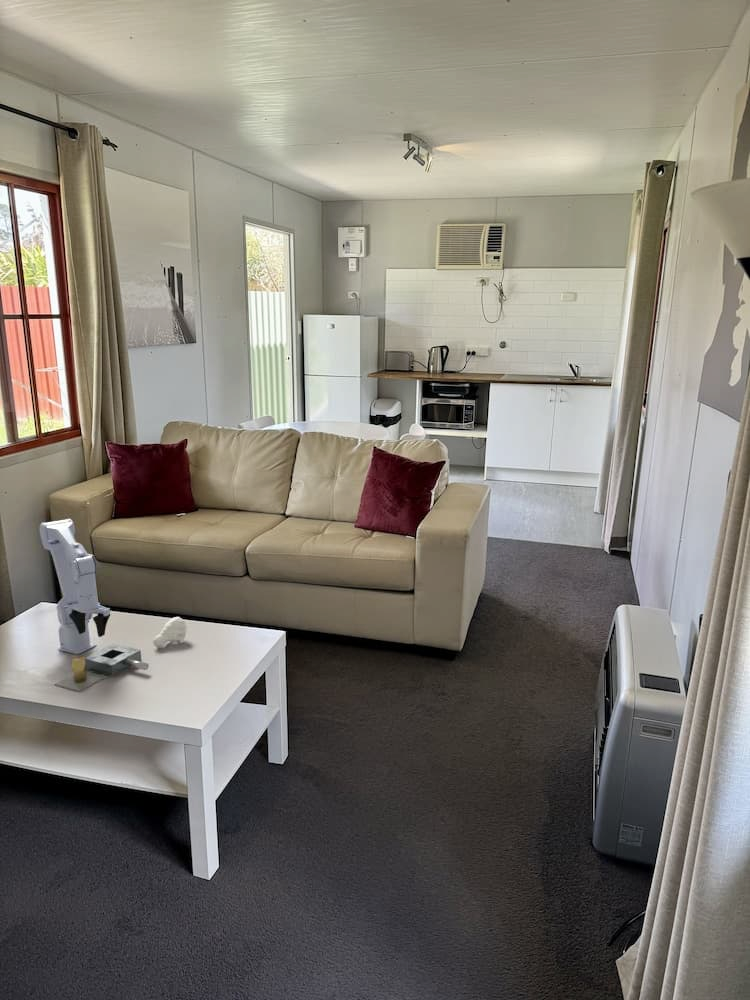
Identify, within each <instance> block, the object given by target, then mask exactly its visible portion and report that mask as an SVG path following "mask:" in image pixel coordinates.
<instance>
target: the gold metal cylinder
mask: <svg viewBox="0 0 750 1000" xmlns="http://www.w3.org/2000/svg"><path fill="white" fill-rule="evenodd" d="M85 657H86V656H83V655H80V656H75V657H73V658H71V666H72V675H73V676H74V682H75V683H81V682H84V681H86V680H87V675H86V666H85Z"/></svg>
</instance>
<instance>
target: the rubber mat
mask: <svg viewBox="0 0 750 1000" xmlns="http://www.w3.org/2000/svg"><path fill="white" fill-rule="evenodd" d="M86 675H87V680H86V681H84V682H81V683H75V682H74V676H73V674H72V675H70V676H68V677H66V678H65V679H62V680H60V681H59V682H56V683H54V686H56V687H59V686H60V687H59V688H64V689H67V690H70V689H71V690H70V691H74V690H75V692H78V693H80V692H82V691H84V690H85V689H88V688H90V687H92V686H93V685H94V684H96V683H98V682H100V681H103V680H104V679H106V678H107V677H106V675H102V674H98V673H94V672H90V671H86Z"/></svg>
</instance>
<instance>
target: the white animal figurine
mask: <svg viewBox="0 0 750 1000" xmlns="http://www.w3.org/2000/svg"><path fill="white" fill-rule="evenodd" d="M187 628H188V627H187V625H186V621H185V620H184V619H183V618H181V617H180V616H176V617H175V616H174V617H172V618H170V619H169V620H168V621H167V622H166V623H165V624H164V626H163V628H162V629H161V631H160V633H159V634H157V635H156V636H155V637H154V638H153V640H152V643H153V645H154V647H156V649H158V650H160V649H163V648H164V646H165V644H167V643H168V642H173V641H174V642H175V641H176V642H177V641H179V643H180V644H184V640H185V639H186V633H187Z"/></svg>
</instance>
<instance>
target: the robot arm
mask: <svg viewBox="0 0 750 1000" xmlns="http://www.w3.org/2000/svg"><path fill="white" fill-rule="evenodd" d="M75 534H76V528H75V524H74V522H73V520H72V519H71V518H67V519H61V520H55V521H49V522H48V521H47V522H41V523H40V524H39V536H40V540H41V544H42V546H43V549H44V550H48V551H49V552H50V554H51V556H52V561H53V565H54V568H55V572H56V575H57V578H58V583H59V587H60V590H61V593H62V597H61V599H60V600H59V601H58V602H57V604H56V611H57V613H56V615H57V620H58V622H59V624H60V625H59V628H58V636H59V637H58V638H59V645H60V647H58V650H59V651H63V652H66V653H71V654H74V655H80V654H82V653H84V652H85V651H88V650H90V649H92V648H95V647H96V646H97V643H94V642H91V639H90V638H91V636H90V630H89V629H90V628H89V623H90V620H91V619H92V620H93V622H94V624H95V626H96V627H95V628H96V632H97V633H96V634H97V635H98V637H99V638H101V637H103V636H105V633H106V628H107V625H108V621H109V618H110V617H111V608H110V607H105V606H103V605H101V603H100V602H99V599H98V590H97V589H98V588H97V587H98V586H97V580H96V573H97V572H98V563H97V559H96V557H95V555H94V554H91V553H88V552H87V550H86V549H85V547H84V545H82V543H79V542H77V541H76V539H75ZM93 614H94V615H96V616H94V615H93Z"/></svg>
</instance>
